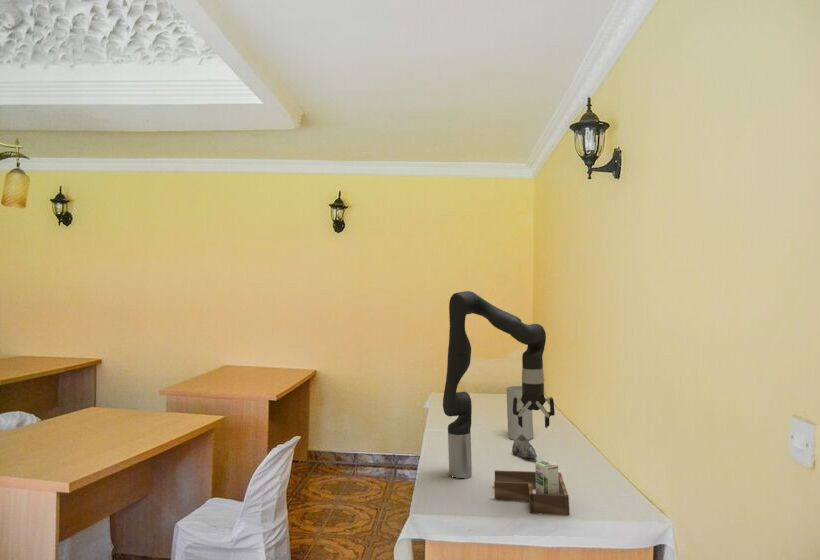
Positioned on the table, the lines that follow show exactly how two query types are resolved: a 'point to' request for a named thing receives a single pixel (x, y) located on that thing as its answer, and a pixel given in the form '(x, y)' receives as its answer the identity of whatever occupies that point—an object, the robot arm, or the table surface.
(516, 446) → the mineral rock
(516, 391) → the cylinder vase
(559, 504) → the walnut corridor
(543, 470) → the syrup box
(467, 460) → the robot arm
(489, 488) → the table surface
